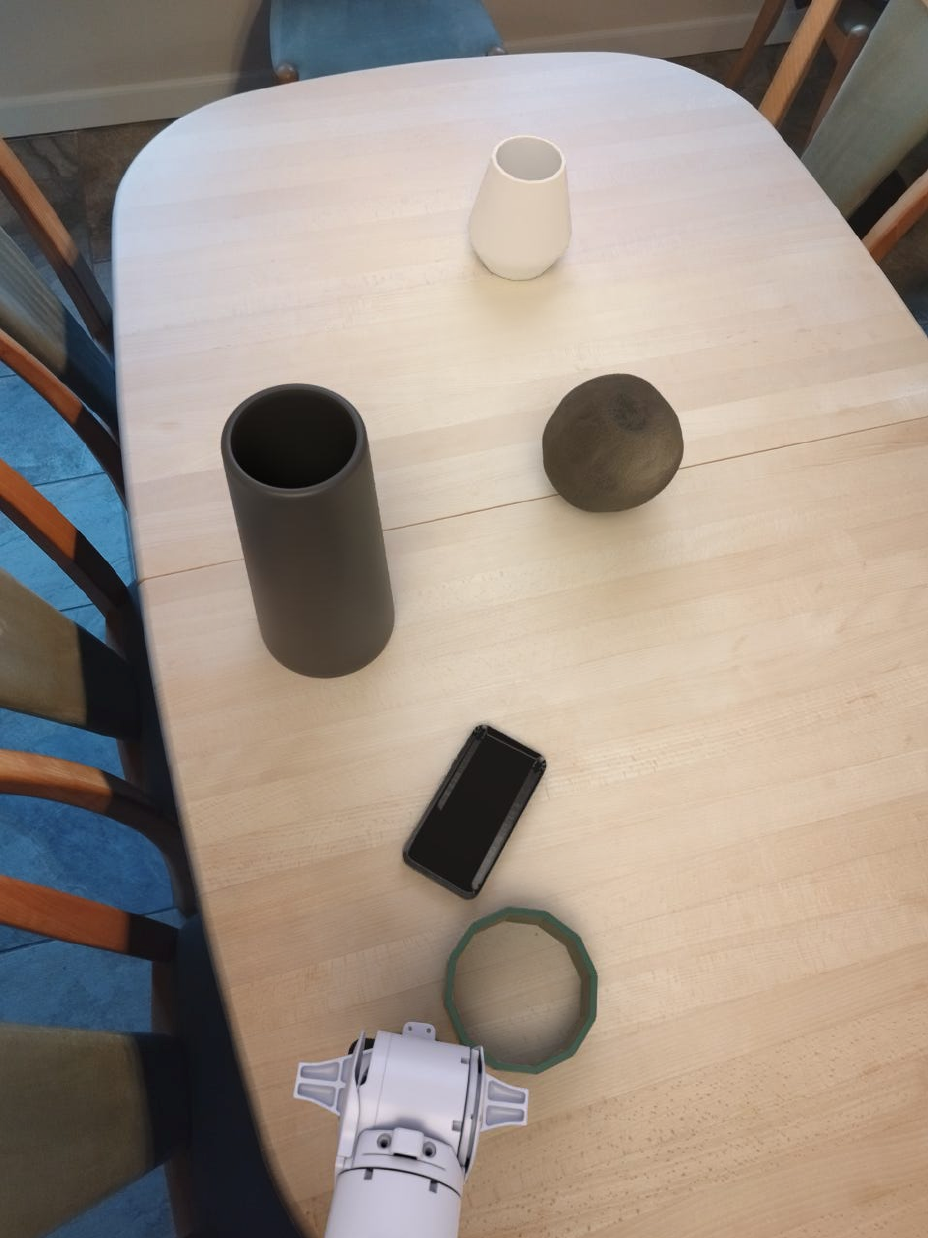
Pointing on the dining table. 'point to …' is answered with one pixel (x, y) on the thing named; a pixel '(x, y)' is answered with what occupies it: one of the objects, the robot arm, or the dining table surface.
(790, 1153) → the dining table surface
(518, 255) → the cup
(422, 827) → the phone
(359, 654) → the vase
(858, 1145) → the dining table surface
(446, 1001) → the green polygonal ring
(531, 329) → the dining table surface
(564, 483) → the dark brown round lump
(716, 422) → the dining table surface
